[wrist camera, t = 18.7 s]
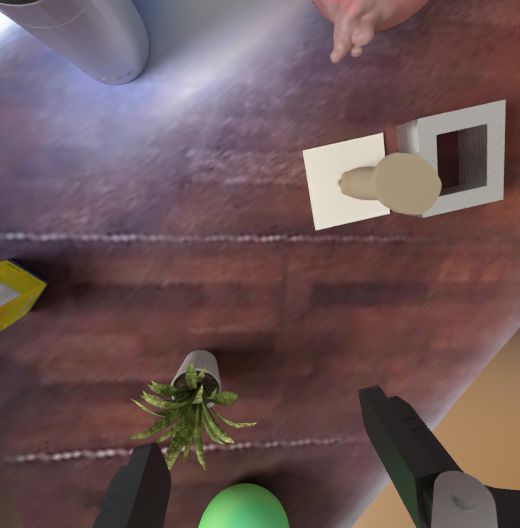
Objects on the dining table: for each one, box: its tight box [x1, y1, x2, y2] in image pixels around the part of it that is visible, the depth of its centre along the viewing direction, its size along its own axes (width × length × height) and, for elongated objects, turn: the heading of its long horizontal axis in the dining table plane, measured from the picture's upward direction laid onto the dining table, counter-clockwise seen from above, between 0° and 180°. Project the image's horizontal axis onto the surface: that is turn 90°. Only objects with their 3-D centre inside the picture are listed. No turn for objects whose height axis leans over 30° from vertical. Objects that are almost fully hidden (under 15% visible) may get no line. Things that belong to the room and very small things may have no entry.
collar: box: [396, 100, 506, 218], centre depth 40 cm, size 12×11×5 cm
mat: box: [303, 133, 390, 230], centre depth 42 cm, size 11×11×1 cm
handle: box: [338, 153, 442, 215], centre depth 34 cm, size 5×6×15 cm
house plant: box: [130, 350, 258, 470], centre depth 40 cm, size 14×14×16 cm
